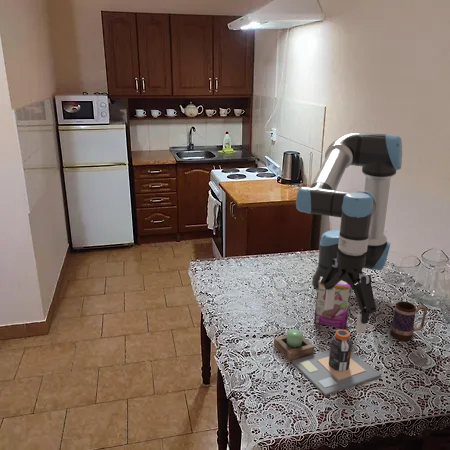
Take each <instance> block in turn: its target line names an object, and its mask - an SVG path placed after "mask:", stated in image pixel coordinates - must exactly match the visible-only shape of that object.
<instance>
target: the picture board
mask: <svg viewBox="0 0 450 450" xmlns="http://www.w3.org/2000/svg"><path fill="white" fill-rule="evenodd" d="M329 355H330V349H328V350H327V349H326V350H324V351H319V352H317V353H314V354H313V355H310V356H306V357H303V358H300V359H296V360H293V361H291V363H292V365H294V366H295V367H296V368H297V369H298V370H299V371H300V372H301V373H302V374H303V376H305V377H306V379H308V380H309V381H310V382H311V384H313V385H314V386H315V387H316V388H317V389H318V391H320V393H322V394H323V396H325V397H327V396H330V395H331V394H334V393H339V392H340V391H343V390H346V389H349V388H351V387H354V386H358V385H360V384H363V383H366V382H368V381H371V380H375V379H377V378H379V377H382V374H381V373H380V372H379V371H378V370H376V369H375V368H374V367H372V366H371V365H370V364H369V363H367V362H366V361H365V360H364V359H362V358H361V357H360V356H359V355H357V354H356V353H355V352H353V351H352V350H351V357H350V364H349V369H348V370H346V371H336V370H334V369H332V368H331V367H330V366H329Z"/></svg>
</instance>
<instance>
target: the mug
mask: <svg viewBox="0 0 450 450" xmlns="http://www.w3.org/2000/svg"><path fill="white" fill-rule="evenodd" d="M420 310H422V311H423V314H422V318H421V323H420V326H418V327H415V325H414V324H415V320H416V319H415V318H416V313H417V312H419V311H420ZM427 313H428V310H427V306H425V305H421V304H420V305H418V306H416V305H414V303H412V302H410V301H406V300H405V301H402V300H401V301H397V302H396V304H395V308H394V312H393V317H392V322H391V325H390V330H389V331H390V332H389V334H390V336H391V337H392V338H393V339H394V340H396V341H399V342H409V341H411V340H412V339H413V334H414V332H416V331H422V330H423V328H424V326H425V321H426V316H427Z"/></svg>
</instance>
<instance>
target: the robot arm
mask: <svg viewBox="0 0 450 450" xmlns="http://www.w3.org/2000/svg"><path fill="white" fill-rule="evenodd" d="M402 163H403V142H402V138H401V137H400V136H399V135H395V134H389V133H367V132H366V133H365V132H353V133H347V134H345V135H343V136H339V138H337V139H336V140H334V141H333V142H332V143H330V145H329V146H328V147H327V149H326V151H325V153H324V161H323V162H322V165H321V166H320V168H319V169H318V172H317V174H316V175H315V177H314V179H313V180H312V183H311V185H310V186H301V187H300V188H298V190H297V192H296V197H295V198H296V199H295V207H296V210H297V211H298V212H301V213H304V214H305V213H306V214H309V215H310V214H311V215H319V216H328V217H335V218H341V219H340V226H339V227H340V229H331V230H327V231H325V232H324V233H322V235H321V237H320V243H319V252H318V263H317V264H318V265H317V268H316V269H315V273H314V274H313V276H312V280H311V281H312V285H313V286H314V288H316V289H318V282H319V279H320V277H323V278H322V280H321V284H324V285H325V286H324V287H325V308H324V309H325V310H330V309H333V306H334V297H335V288H332V287H335V285H336V284H337V283H338V282H340V281H341V280H342V281H344V282H346V283H347V284H349V285H350V287H351V288H352V289H351V290H353V291H352V292H353V293H354V295H355V296H354V297H355V299H356V301H357V305H358V306H359V309H360V310H358V314H357V321H356V326H355V334H358V335H359V334H361V333H364V332H366V330H367V324H368V323H369V319H370V315H371V314H372V315H373V314H375V313H377V310H378V309H377V307H376V301H375V296H374V292H373V288H372V275H371V274H370V275H365V274H364V273H363V268H364V269H367V270H368V269H369V270H371V271H373V270H375V271H381V270H383V269H384V268H385V265H386V262H387V259H388V256H389V251H390V248H391V242H389V241H388V237H387V236H386V234H385V224H386V218H387V210H388V202H389V193H390V187H391V179H392V177H394V176H395V175H396V174H397V171H398V170H399V171H400V170H401V169H402ZM350 166H354V167H362V168H361V173H362V174H363V175H364V176H365V182H364V190H359V191H356V192H351V191H342V190H337V189H338V186H339V185H340V182H341V180H342V177H343V175H344V173H345V171H346V169H347V168H349V167H350Z"/></svg>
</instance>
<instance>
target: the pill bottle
mask: <svg viewBox="0 0 450 450" xmlns="http://www.w3.org/2000/svg"><path fill="white" fill-rule="evenodd" d="M350 336H351V333H350V332H349V331H348V330H347V329H341V328H339V329H337V330H335V334H334V336H332V337H331V339H330V340H331V341H330V349H329V350H330V355H329V366H330V367H331V368H332V369H334V370H336V371H346V370H348V369H349V364H350V357H351V351H352V348H353V341H352V339H351V338H350Z"/></svg>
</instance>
